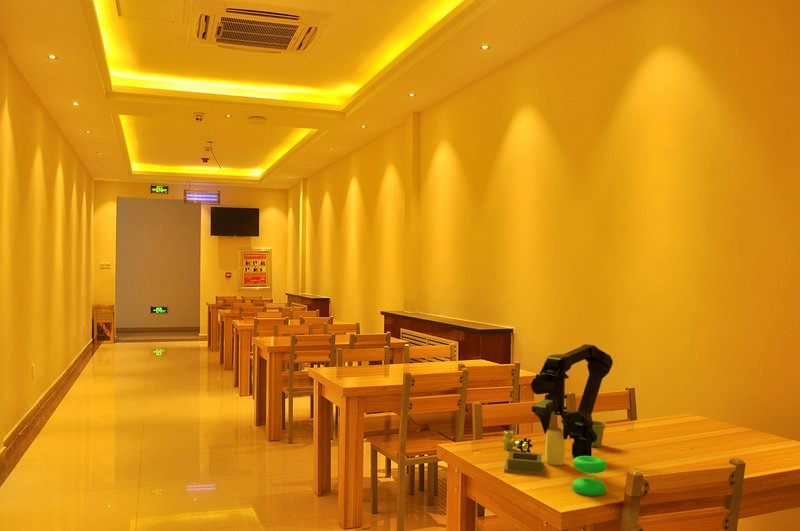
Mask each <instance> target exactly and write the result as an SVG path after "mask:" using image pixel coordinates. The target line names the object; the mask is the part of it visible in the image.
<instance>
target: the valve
mask: <svg viewBox="0 0 800 531" xmlns="http://www.w3.org/2000/svg"><path fill="white" fill-rule="evenodd" d="M514 436H515V432H514V431H513V430H512V431H511V430H504V431H503V438H502V442H503V445H502V446H503V447H502V448H503V450H504V451H513V450H514V448H515V447H516V448H517V449H519V450H518V451H517V452H523V453H532V452H531V449H530V448H533V444H531V442H532V440H531V438H527V437H525V436H524V437H522V439H519V440H518V439H517V438H514Z"/></svg>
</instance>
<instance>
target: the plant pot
mask: <svg viewBox="0 0 800 531" xmlns="http://www.w3.org/2000/svg"><path fill="white" fill-rule="evenodd" d="M606 425H607V423H606V422H603V421H600V420H593V428H592V429H593V430H594V432H595V433H596V435H597V440H596V442H594V443H592V447H595V448H599V447H601V446H602V443H603V436H604V431H605V428H606Z"/></svg>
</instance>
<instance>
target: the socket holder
mask: <svg viewBox="0 0 800 531" xmlns="http://www.w3.org/2000/svg"><path fill="white" fill-rule="evenodd" d="M508 451H509V452H508V457H507V458H506V460H505V463H504V469H503V472H504V473H510V474H511V473H512V474H520V473H521V474H523V475H532V474H533V475H536V476H545V461H542V453H534V452H530V453H528V452H526V453H523V452H518V451H511V450H508Z"/></svg>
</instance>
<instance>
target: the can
mask: <svg viewBox="0 0 800 531" xmlns="http://www.w3.org/2000/svg"><path fill="white" fill-rule="evenodd" d="M565 441H566V439H564V437H563V427H562V428H561V427H556V426H555V427H554V426H553V427H550V426H549V428H547V432H546V434H545V449H544V450H545V453H544V463H545V464H547V465H549V466H554V465H555V466H558V467H559V466H563V465H564V463H565V446H566V445H565V444H566V442H565Z"/></svg>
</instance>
